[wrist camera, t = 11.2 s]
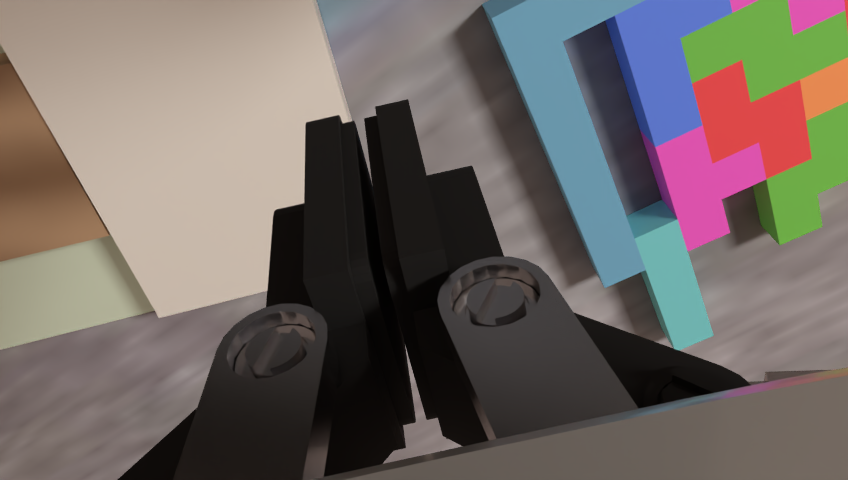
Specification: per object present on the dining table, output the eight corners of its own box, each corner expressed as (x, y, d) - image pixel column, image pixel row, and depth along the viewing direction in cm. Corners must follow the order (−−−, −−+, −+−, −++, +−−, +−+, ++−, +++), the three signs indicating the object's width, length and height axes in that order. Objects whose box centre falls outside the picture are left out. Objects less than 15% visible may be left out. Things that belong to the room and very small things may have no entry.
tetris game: (479, 1, 37) (623, 340, 53) (491, 18, 35) (638, 367, 51) (1028, -283, 33) (1007, 175, 49) (1081, -285, 31) (1041, 197, 47)
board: (-43, -84, 31) (-67, -72, 29) (267, -164, 31) (265, -157, 29) (165, 291, 44) (159, 317, 42) (386, 235, 44) (390, 259, 42)
